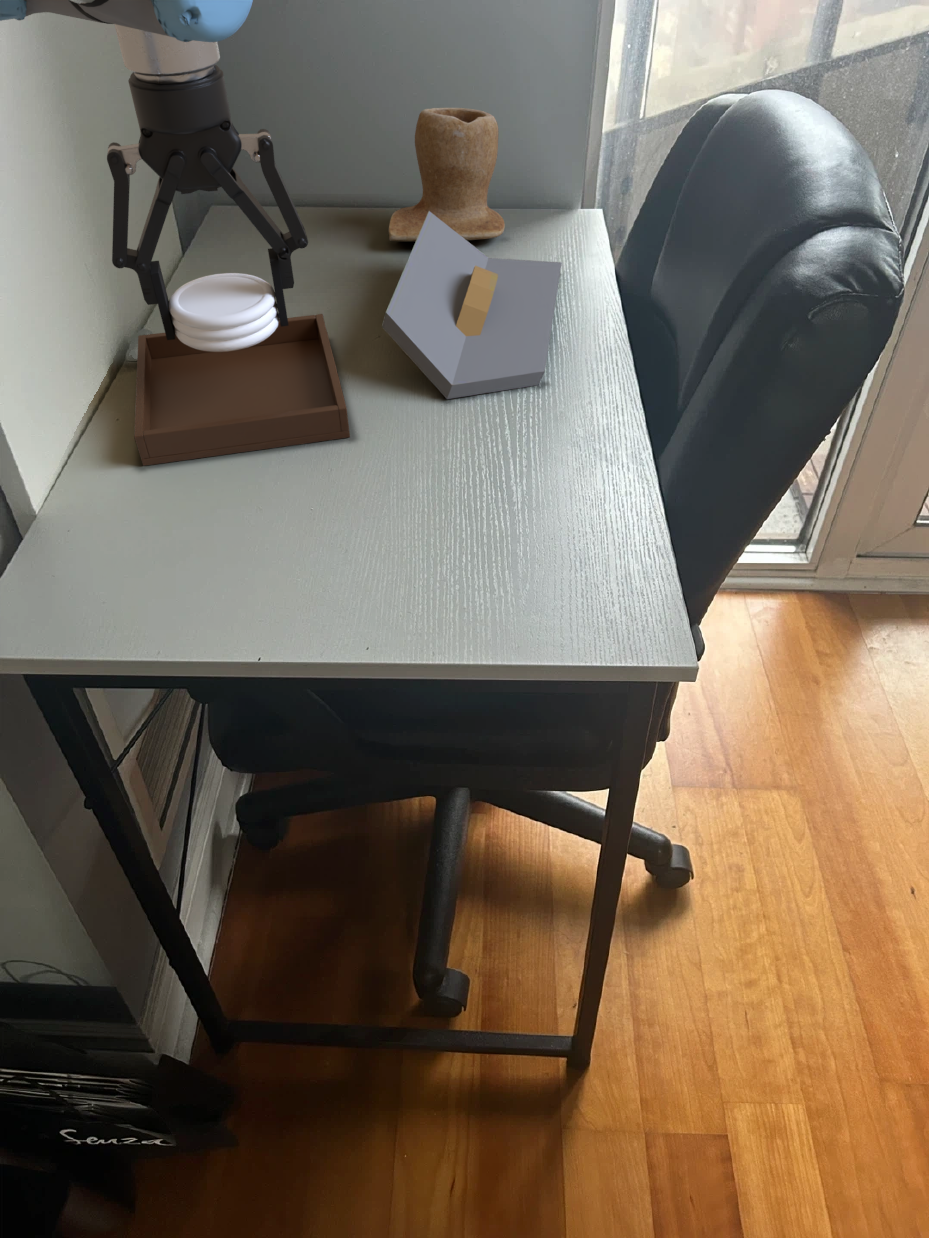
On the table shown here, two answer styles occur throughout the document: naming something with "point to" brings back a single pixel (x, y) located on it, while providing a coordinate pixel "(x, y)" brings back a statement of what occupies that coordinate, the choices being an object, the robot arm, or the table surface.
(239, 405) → the holder
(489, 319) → the shield
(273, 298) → the coaster
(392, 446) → the table surface
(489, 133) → the stone cup
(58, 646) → the table surface
